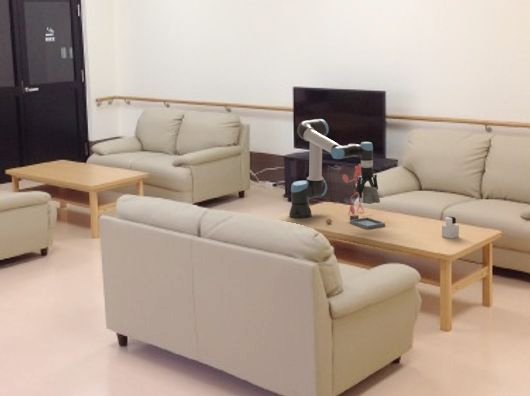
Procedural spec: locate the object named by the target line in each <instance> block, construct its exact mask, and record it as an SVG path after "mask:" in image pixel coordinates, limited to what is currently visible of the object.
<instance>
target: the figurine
mask: <svg viewBox="0 0 530 396" xmlns="http://www.w3.org/2000/svg"><path fill="white" fill-rule="evenodd" d="M361 167H362V166H361V163H358V165H355V166H354V174H353V179H351V180H349V177H348V175H347V174H345V173H343V175H342V180H343V182H344V183H345V184H349V183H351V182H352V181H355V183H356V184H357V177H359V176H361ZM355 195H359V193H358V192H356V191H355V194H353V195H352V196H350V198H352V197H354V196H355ZM350 204H351V205H350V206H349V211H348V215H349V214H350V213H351V215H353V214H355V213H356V212H359V209H361V210H362V212H365V209H364V208H363V206H362V203H360V202H358V207H357V209H356V211H355V208H354V206H353V201H352V199H350ZM355 215H356V214H355ZM371 215H373V213H371V214H368V215H367V217H369V216H371Z"/></svg>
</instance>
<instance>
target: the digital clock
mask: <svg viewBox="0 0 530 396" xmlns="http://www.w3.org/2000/svg"><path fill="white" fill-rule="evenodd" d="M358 193H359V192H358ZM362 193H363V203H362V204H367V205H371V204H379V203H380V202H381V199H380V195H379V191H378V190H377V188H376V187H371V186H369V185H364V188H363V191H362ZM358 203H360V198H359V197H358Z"/></svg>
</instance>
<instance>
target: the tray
mask: <svg viewBox="0 0 530 396" xmlns="http://www.w3.org/2000/svg"><path fill="white" fill-rule="evenodd" d="M349 223H350V224H352V225H354V226H357V227H360V228H363V229H365V230H370V229H371V230H372V229H376V228H377V227H378V228H382V227H386V223H385V222H383V221H380V220H377V219H374V218H371V217H369V216H365V217H360V218H359V219H354V220H350V219H349ZM378 228H377V229H378Z"/></svg>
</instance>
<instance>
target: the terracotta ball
mask: <svg viewBox="0 0 530 396" xmlns="http://www.w3.org/2000/svg"><path fill="white" fill-rule="evenodd" d="M325 221H326V223H327V224H329V225H330V224H331V223H332V222H333V220H332V218H330V217H328V218H326V220H325Z"/></svg>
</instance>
